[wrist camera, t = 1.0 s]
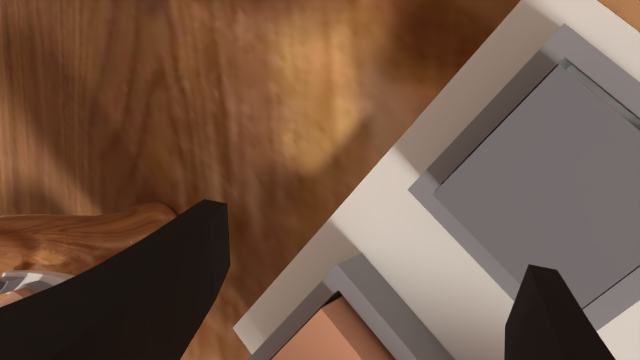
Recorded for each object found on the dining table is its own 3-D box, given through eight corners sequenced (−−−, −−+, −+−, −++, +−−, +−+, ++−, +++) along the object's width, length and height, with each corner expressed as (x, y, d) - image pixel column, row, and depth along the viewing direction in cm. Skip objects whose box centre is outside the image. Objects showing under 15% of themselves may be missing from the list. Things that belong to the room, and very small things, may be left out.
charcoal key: (710, 190, 17) (724, 200, 15) (569, 299, 20) (559, 325, 17) (568, 73, 19) (559, 64, 16) (455, 186, 21) (432, 194, 19)
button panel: (854, 204, 18) (916, 225, 14) (398, 511, 28) (361, 572, 24) (557, -22, 22) (541, -54, 18) (254, 317, 32) (202, 343, 28)
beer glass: (150, 310, 36) (-110, 408, 24) (111, 224, 38) (-155, 272, 25) (210, 268, 33) (-55, 355, 20) (166, 175, 35) (-109, 202, 22)
